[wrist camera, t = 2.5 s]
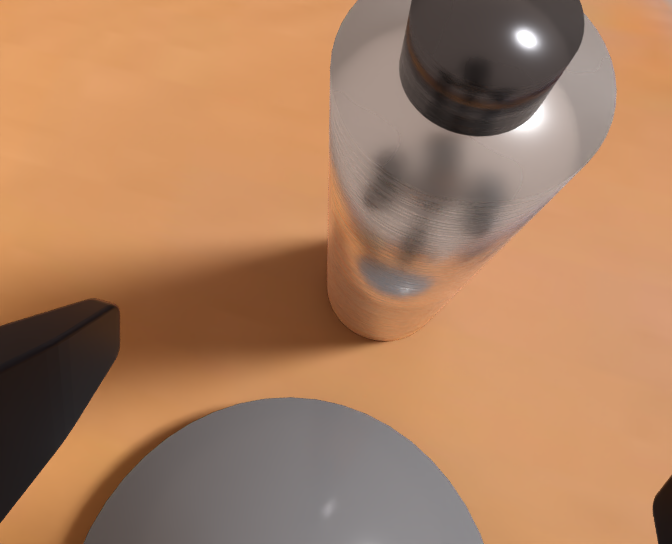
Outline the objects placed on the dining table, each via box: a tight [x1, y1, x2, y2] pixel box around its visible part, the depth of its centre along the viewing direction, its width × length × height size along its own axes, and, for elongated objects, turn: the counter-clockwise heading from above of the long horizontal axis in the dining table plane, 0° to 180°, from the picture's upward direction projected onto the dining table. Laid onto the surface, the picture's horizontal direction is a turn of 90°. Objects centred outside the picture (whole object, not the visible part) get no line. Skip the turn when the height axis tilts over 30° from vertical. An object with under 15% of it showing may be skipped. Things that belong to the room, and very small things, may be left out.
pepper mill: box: [327, 0, 616, 341], centre depth 14 cm, size 5×5×14 cm
